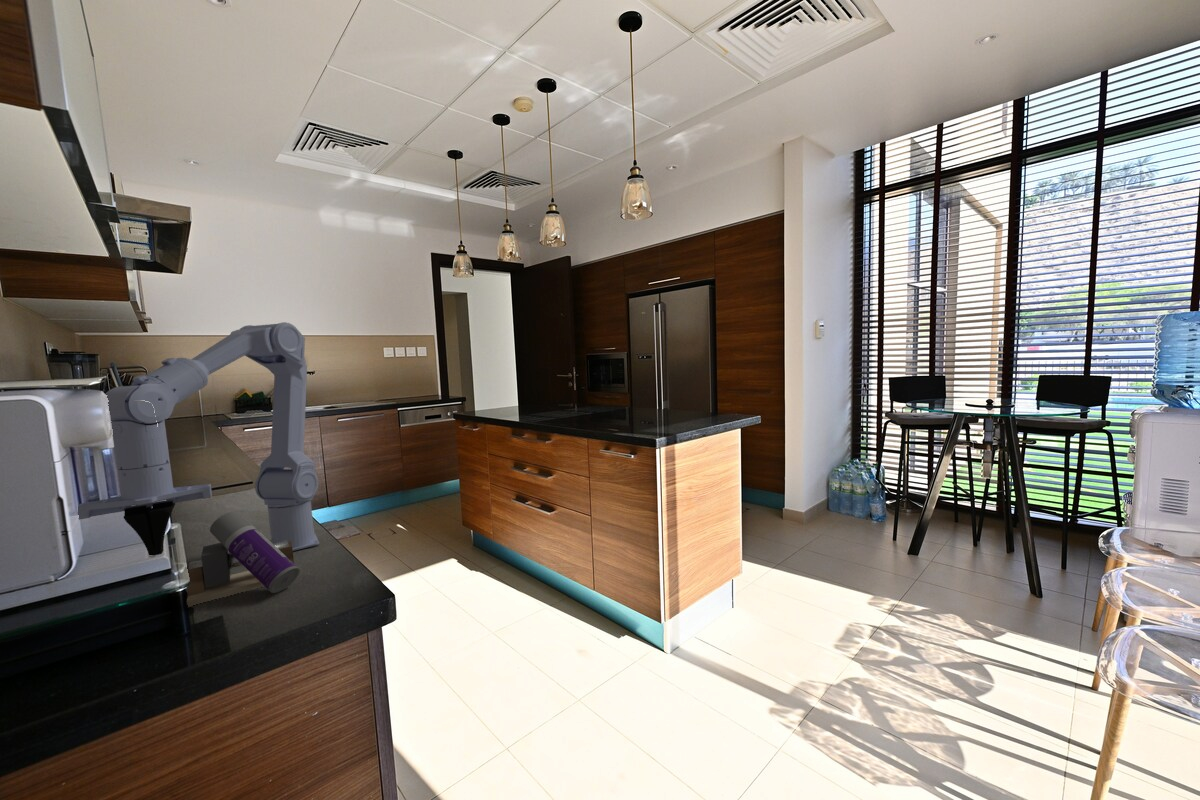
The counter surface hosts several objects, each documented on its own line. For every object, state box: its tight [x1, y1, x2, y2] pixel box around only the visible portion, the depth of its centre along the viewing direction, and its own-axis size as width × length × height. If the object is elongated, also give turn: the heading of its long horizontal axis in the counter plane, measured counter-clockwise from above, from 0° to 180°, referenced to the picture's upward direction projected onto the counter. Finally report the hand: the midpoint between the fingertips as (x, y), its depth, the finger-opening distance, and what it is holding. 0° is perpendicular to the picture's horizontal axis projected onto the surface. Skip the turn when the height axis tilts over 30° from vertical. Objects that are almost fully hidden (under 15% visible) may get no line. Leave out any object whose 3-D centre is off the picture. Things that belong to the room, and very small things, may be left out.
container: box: [209, 511, 301, 594], centre depth 77 cm, size 5×5×15 cm
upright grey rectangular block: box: [200, 542, 231, 588], centre depth 77 cm, size 5×3×5 cm, turn 37°
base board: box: [186, 541, 295, 608], centre depth 79 cm, size 7×14×5 cm, turn 127°
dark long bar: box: [188, 540, 288, 575], centre depth 79 cm, size 3×13×3 cm, turn 127°
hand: (156, 553), depth 72 cm, fingers closed
